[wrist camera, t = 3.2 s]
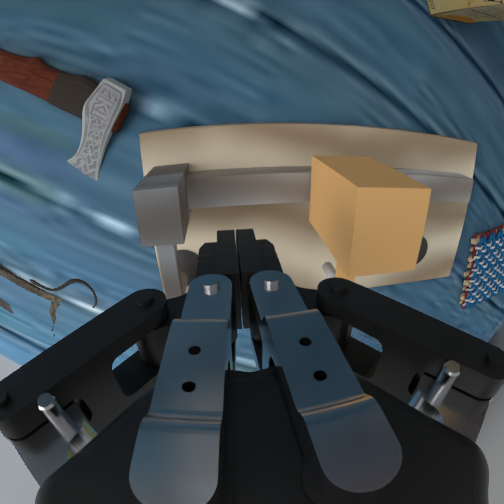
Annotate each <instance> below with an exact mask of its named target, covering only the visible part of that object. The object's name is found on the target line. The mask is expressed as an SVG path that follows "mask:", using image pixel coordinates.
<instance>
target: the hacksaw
mask: <svg viewBox="0 0 504 504" xmlns="http://www.w3.org/2000/svg"><path fill="white" fill-rule="evenodd" d="M0 275H2V276H3V277H5V278H7V279H8V280H10V281H11V282H14V283H15V284H17V285H19V286H21V287H22V288H25V289H26V290H28V291H30V292H32V293H36V294H37V295H39V296H41V297H44V298H46V299H47V300H51V301H53V302H51V305H52V306H51V308H50V314H51V317H52V320H53V324H55V320H56V316H55V311H56V308H57V307H58V306H59V305H60V302H61V299H60V298H59V297H56V298H55V295H52V294H48V293H46V291H44V290H42V289H40V288H38V287H37V286H39V287H41V288H44V289H46V290H49V291H58V290H61V289H62V288H64V287H66V286H68V285H69V284H71V283H74V282H77V283H82V284H84V285H86V286H87V287H88V288H89V289H91V291H92V292H93V294H94V298H95V300H96V301H95V305H94V306H93V308H94V307H95V306H96V305H97V298H96V294H95V292H94V291H93V289H92V288H91V287H90V286H89V285H88V284H87V283H86V282H85V281H82V280H80V279H71V280H69V281H67V282H66V283H64V284H63V285H62V286H60V287H58V288H55V289H50V288H46V287H45V286H43V285H41V284H39V283H37V282H36V281H35V280H31V279H30V281H31V283H32V284H31V283H29V282H28V281H26V280H24V279H22V278H20V277H17V276H16V275H15V274H14V273H12V272H10V271H9V270H7V269H6V268H3V267H2V266H1V265H0ZM33 284H34V285H33ZM35 285H37V286H35ZM58 302H59V304H58ZM54 303H55V304H54ZM0 306H1V307H3V308H4V309H6V310H7V311H9V312H10V313H12V314H13V313H14V312H12V310H11V307H10V305H9V304H8V303H6V302H5V301H3V300H2V299H0ZM53 327H54V326H53ZM53 329H54V328H53ZM53 329H52V330H51V331H53ZM53 335H54V334H53ZM54 336H55V335H54Z"/></svg>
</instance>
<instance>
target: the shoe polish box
mask: <svg viewBox="0 0 504 504" xmlns="http://www.w3.org/2000/svg"><path fill="white" fill-rule="evenodd" d="M427 2H428V6H429V9H430V13H431V16H435V17H441V18H446V19H452V20H457V21H461V22H466V23H473V22H484V21H497V20H504V0H427Z"/></svg>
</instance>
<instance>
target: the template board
mask: <svg viewBox="0 0 504 504" xmlns="http://www.w3.org/2000/svg"><path fill="white" fill-rule="evenodd" d="M139 137H140V147H141V156H142V165H143V173H144V178H143V179H142V180H141V181H140V182H139V184H138V185H137V186H136V187H135V188H134V189H133V190H132V195H133V201H134V207H135V213H136V219H137V225H138V230H139V235H140V241H141V246H142V247H149V246H155V250H156V256H157V261H158V266H159V271H160V276H161V281H162V286H163V290H164V294H165V295H166V298H167V299H170V298H174V297H178V296H181V295H183V294H185V293H187V292H188V288H189V285H190V283H191V282H192V281H193V280H194V279H195V278H196V271H197V262H198V254H199V248H200V247H201V246H202V245H203V244H204V243H208V242H217V230H234V232H235V240H236V229H251V228H253V230H254V234H255V238H256V240H259V239H267V240H268V241H270V242H271V243H272V244H273V245H274V247H275V250H276V253H277V256H278V259H279V261H280V264H281V267H282V270H283V273H285V274H287V275H289V276H290V277H291V279H292V281H293V283H294V284H295V286H298V287H302V288H307V289H316V290H317V287H318V284H319V283H320V282H321V281H322V280H324V279H327V278H328V277H327V276H326V274H325V272H324V270H323V268H322V266H323V264H324V263H325V262H331V263H332V265H333V267H334V268H335V270H336V265H337V261H336V260H335V258H334V257H333V255H332V254H331V252H330V251H329V249H328V248H327V246H326V245H325V243H324V242H323V240H322V239H321V237H320V236H319V234H318V233H317V231H316V230H315V228H314V227H313V226H312V224H311V223H310V221H309V213H310V191H311V163H312V155H314V156H360V157H370V158H372V159H374V160H377V161H379V162H381V163H383V164H385V165H387V166H389V167H391V168H393V169H395V170H397V171H399V172H401V173H403V174H405V175H407V176H408V177H410V178H412V179H414V180H416V181H418V182H420V183H422V184H423V185H425V186H427V187H429V188H431V195H430V201H429V206H428V212H427V217H426V222H425V227H424V232H423V237H422V241H421V246H420V250H419V254H418V258H417V262H416V266H415V270H409V271H401V272H392V273H384V274H375V275H365V276H356V277H355V279H354V282H355V283H357V284H359V285H361V286H364V287H366V288H369V287H377V286H385V285H392V284H399V283H407V282H414V281H421V280H427V279H434V278H441V277H447V276H449V275H450V272H451V268H452V265H453V262H454V258H455V255H456V251H457V248H458V244H459V240H460V236H461V232H462V228H463V224H464V220H465V215H466V211H467V206H468V202H470V197H471V192H472V187H473V181H474V180H473V173H474V166H475V159H476V151H477V143H474V142H471V141H468V140H463V139H458V138H452V137H447V136H441V135H435V134H429V133H422V132H415V131H408V130H400V129H391V128H382V127H371V126H359V125H345V124H326V123H240V124H220V125H206V126H193V127H183V128H173V129H164V130H156V131H148V132H143V133H140V134H139Z"/></svg>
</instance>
